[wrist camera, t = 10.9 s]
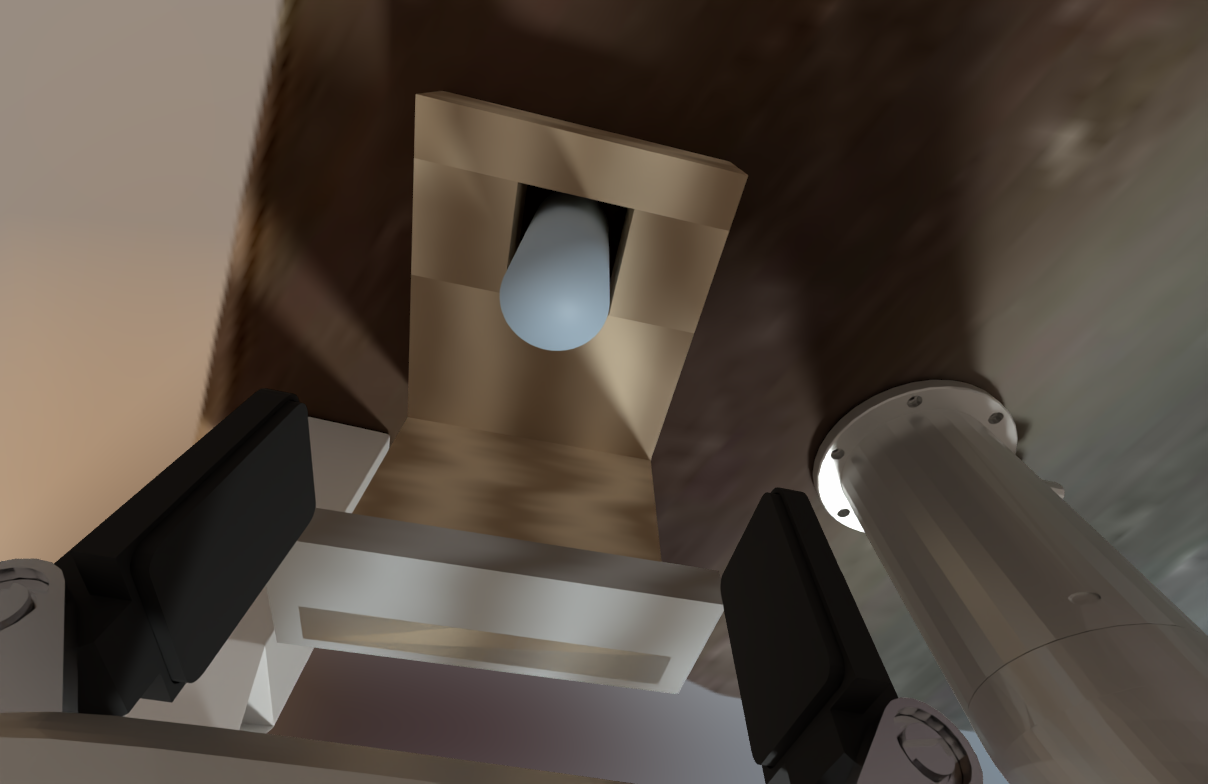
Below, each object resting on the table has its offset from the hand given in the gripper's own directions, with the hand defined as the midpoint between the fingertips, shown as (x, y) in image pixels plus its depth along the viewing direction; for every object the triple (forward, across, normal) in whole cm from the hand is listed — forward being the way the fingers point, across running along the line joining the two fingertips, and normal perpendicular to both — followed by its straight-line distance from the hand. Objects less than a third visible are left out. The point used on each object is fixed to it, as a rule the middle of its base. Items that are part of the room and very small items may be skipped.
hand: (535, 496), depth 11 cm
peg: (+20, +1, 0) cm, 20 cm away
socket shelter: (+20, +1, +4) cm, 20 cm away
